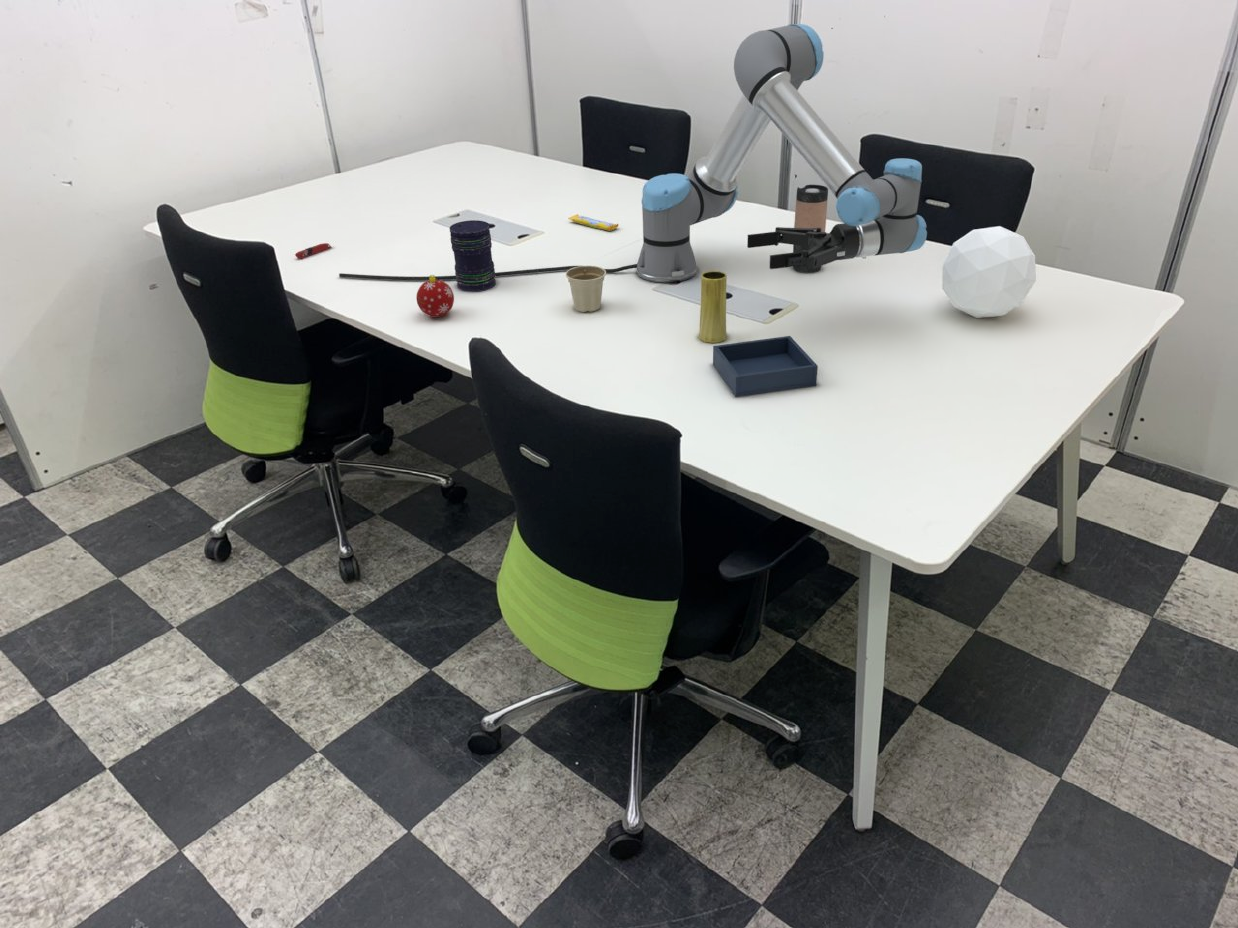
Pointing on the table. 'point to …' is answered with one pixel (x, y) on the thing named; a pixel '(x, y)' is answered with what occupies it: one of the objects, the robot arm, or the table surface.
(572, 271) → the flower pot
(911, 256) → the table surface
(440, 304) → the christmas ornament
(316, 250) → the utility knife
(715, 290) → the vase
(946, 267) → the geometric polyhedron
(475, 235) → the storage jar
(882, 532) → the table surface
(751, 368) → the tray
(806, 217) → the travel mug
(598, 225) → the candy bar
